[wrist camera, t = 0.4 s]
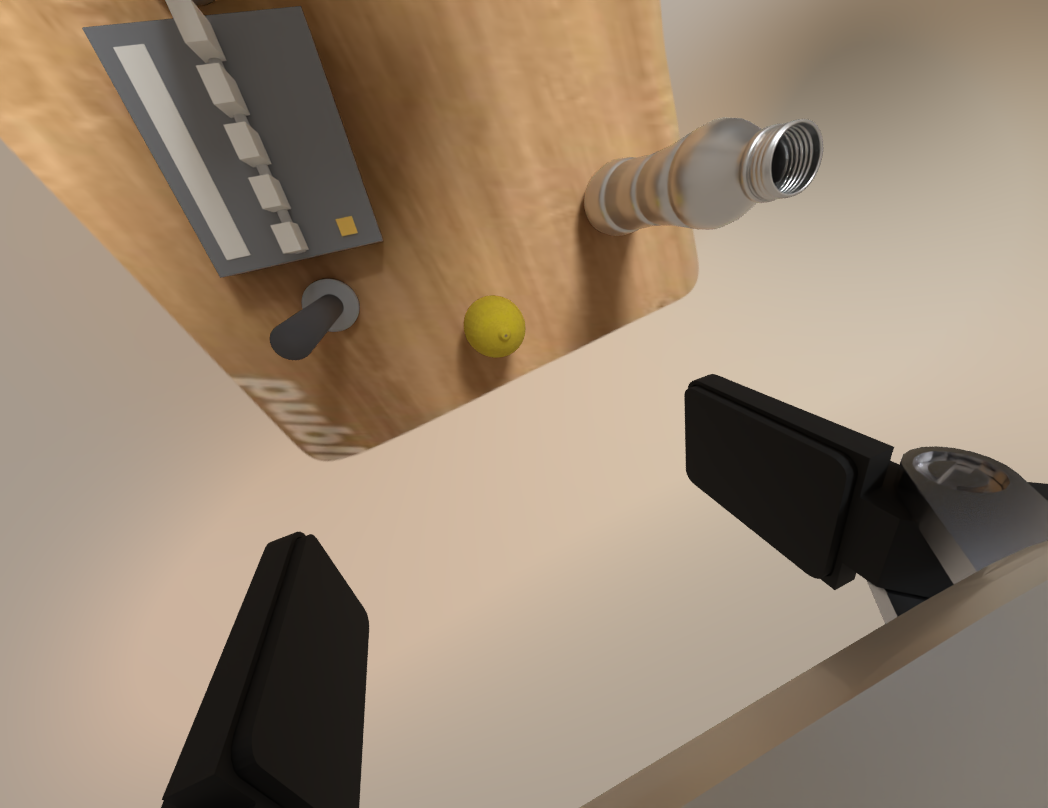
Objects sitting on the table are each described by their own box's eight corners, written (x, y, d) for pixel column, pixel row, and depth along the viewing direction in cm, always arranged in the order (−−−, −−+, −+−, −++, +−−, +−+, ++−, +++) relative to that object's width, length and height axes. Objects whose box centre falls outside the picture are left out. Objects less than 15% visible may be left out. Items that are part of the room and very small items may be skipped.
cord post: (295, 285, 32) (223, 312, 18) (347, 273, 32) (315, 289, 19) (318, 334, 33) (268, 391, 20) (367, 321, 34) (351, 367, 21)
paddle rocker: (188, 24, 22) (163, -4, 20) (210, 21, 22) (187, -6, 20) (293, 254, 28) (284, 255, 26) (310, 250, 28) (302, 251, 26)
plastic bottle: (635, 232, 39) (830, 218, 22) (577, 240, 38) (738, 233, 20) (635, 161, 37) (859, 80, 19) (573, 167, 35) (755, 84, 17)
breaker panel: (116, 52, 24) (79, 25, 21) (310, 30, 26) (300, 4, 23) (235, 275, 30) (219, 277, 27) (383, 241, 32) (382, 240, 30)
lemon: (467, 353, 38) (484, 376, 31) (450, 301, 36) (463, 313, 29) (516, 336, 39) (543, 355, 32) (502, 284, 37) (528, 292, 30)
